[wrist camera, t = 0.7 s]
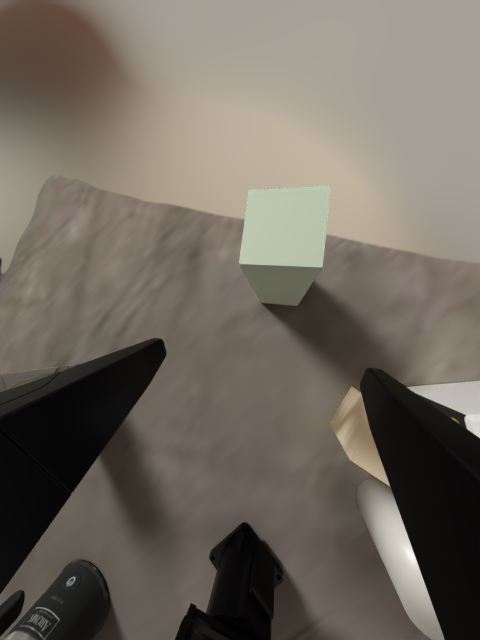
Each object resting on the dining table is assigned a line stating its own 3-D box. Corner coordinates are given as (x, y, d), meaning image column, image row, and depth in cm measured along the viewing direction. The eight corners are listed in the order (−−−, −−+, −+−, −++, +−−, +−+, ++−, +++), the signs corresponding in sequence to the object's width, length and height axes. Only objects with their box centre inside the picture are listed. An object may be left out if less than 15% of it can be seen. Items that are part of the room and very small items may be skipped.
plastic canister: (384, 540, 18) (449, 665, 11) (345, 496, 19) (382, 587, 12) (422, 510, 17) (514, 622, 11) (380, 467, 19) (438, 544, 12)
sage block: (297, 306, 22) (322, 267, 9) (261, 302, 23) (238, 263, 10) (301, 270, 22) (331, 185, 9) (265, 269, 23) (248, 190, 10)
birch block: (373, 451, 19) (415, 503, 13) (329, 423, 20) (350, 459, 14) (397, 412, 19) (450, 447, 13) (351, 386, 20) (381, 407, 14)
